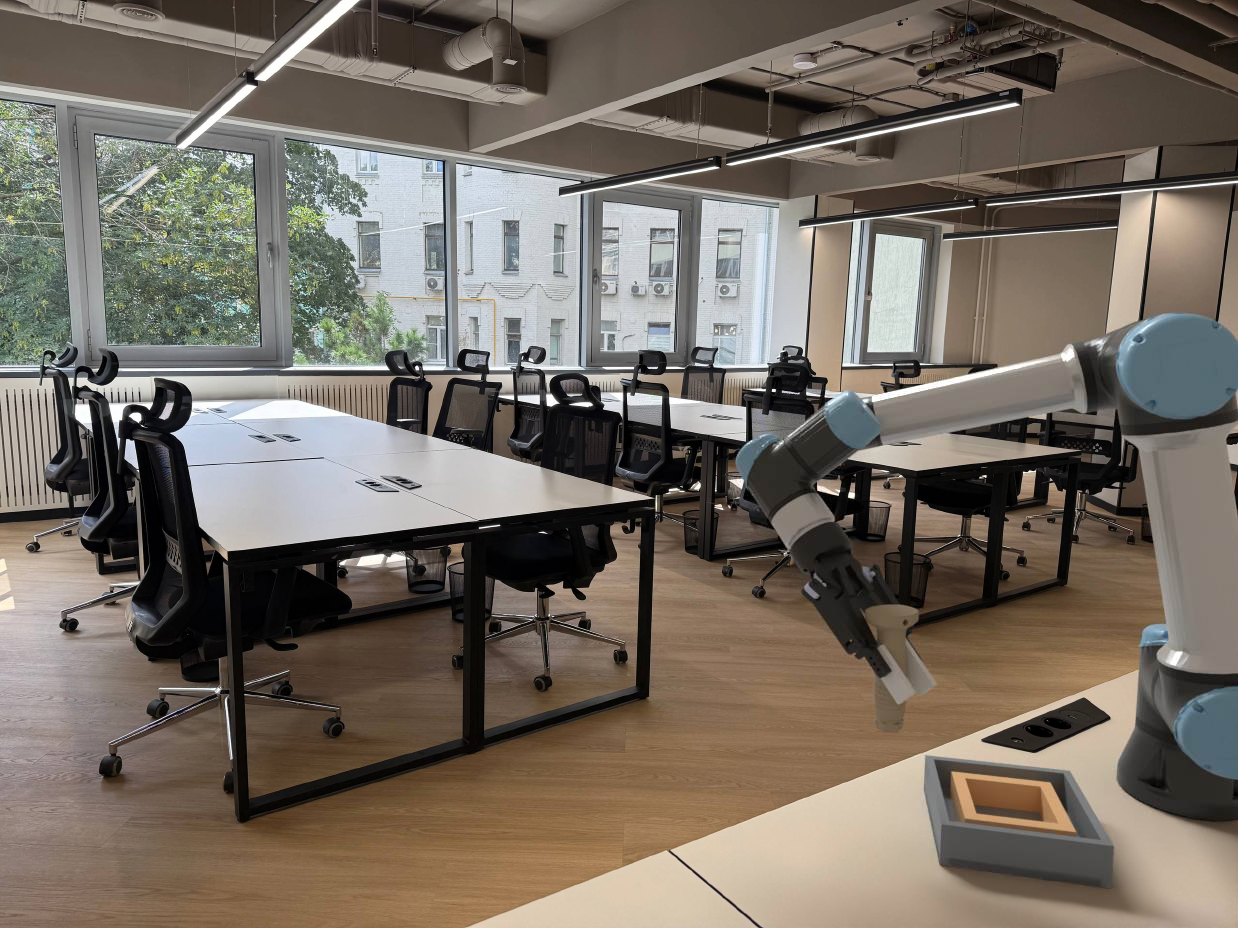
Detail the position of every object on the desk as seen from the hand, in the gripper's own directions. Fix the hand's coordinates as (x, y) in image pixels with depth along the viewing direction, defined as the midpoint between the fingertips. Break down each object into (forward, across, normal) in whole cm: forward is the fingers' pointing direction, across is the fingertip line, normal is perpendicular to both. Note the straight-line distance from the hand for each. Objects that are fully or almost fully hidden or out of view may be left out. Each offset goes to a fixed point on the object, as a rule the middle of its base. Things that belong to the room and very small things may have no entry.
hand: (917, 693), depth 99 cm
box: (+17, -12, -10) cm, 23 cm away
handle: (+1, 0, -7) cm, 7 cm away
